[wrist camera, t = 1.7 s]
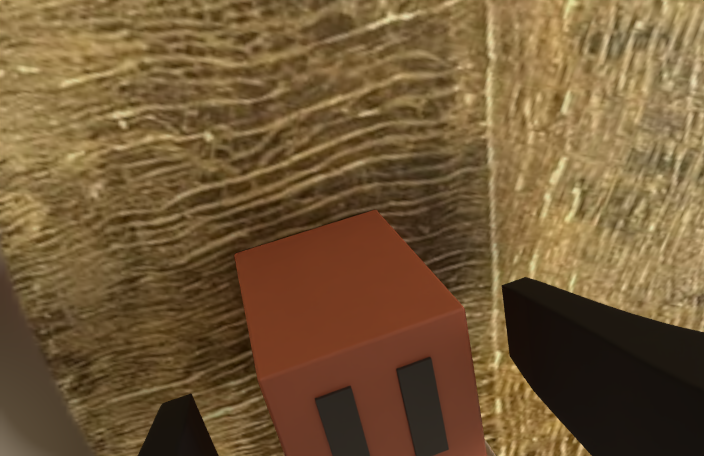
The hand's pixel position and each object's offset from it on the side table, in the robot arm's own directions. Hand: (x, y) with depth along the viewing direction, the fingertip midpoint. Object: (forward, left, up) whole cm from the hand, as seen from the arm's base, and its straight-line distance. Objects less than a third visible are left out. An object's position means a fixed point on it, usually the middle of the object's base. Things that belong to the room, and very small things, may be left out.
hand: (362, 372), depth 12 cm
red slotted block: (0, 0, -4) cm, 4 cm away
